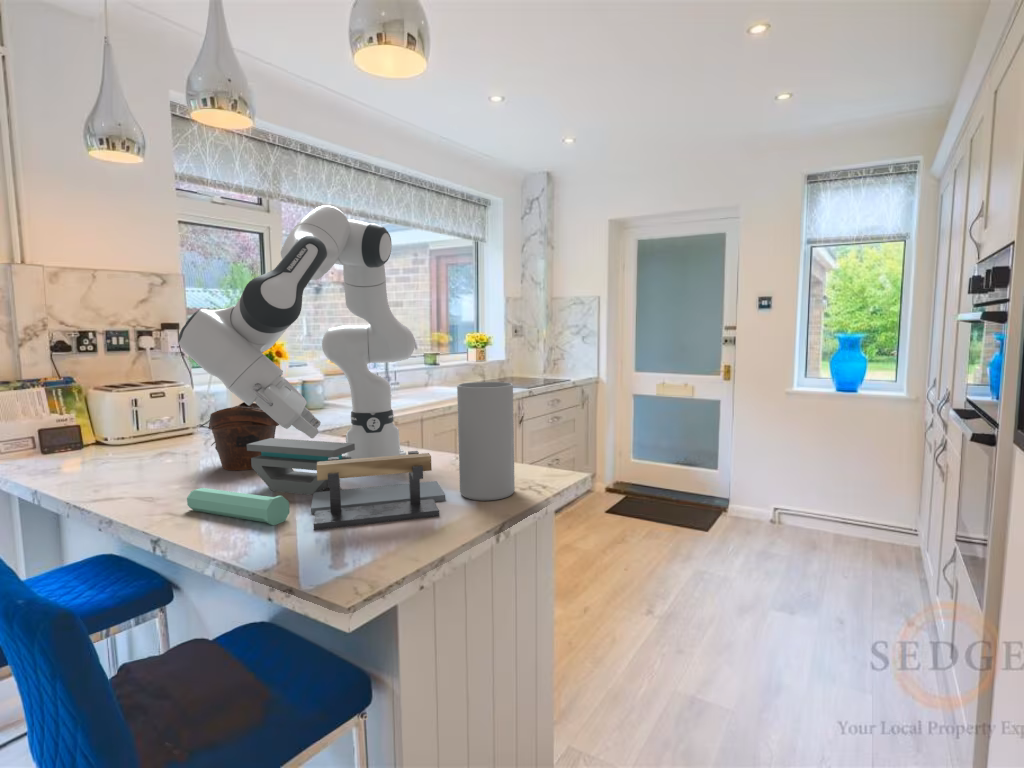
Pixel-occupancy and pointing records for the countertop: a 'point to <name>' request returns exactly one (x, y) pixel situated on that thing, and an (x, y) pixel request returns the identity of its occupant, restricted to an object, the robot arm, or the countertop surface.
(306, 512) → the countertop surface
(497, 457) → the cylinder vase
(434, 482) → the rubber mat
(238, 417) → the brown tapered pot
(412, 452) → the hook stand
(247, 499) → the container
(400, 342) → the robot arm
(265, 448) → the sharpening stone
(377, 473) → the oak rail
